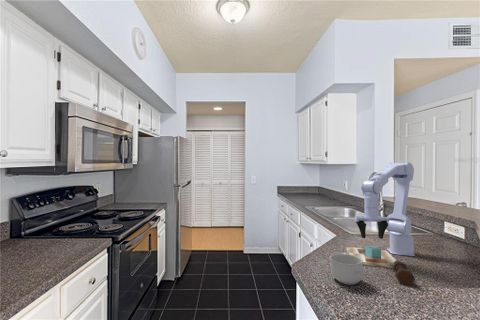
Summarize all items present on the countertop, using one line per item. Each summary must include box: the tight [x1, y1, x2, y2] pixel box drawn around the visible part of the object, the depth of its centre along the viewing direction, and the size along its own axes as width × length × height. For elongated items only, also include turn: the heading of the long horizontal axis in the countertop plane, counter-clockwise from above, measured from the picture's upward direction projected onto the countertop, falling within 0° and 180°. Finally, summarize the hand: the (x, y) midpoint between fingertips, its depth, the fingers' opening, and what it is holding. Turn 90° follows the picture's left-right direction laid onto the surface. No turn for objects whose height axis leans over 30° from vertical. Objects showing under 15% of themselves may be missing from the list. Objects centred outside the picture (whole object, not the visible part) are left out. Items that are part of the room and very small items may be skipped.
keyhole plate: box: [345, 246, 397, 269], centre depth 108 cm, size 18×20×2 cm
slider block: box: [364, 245, 382, 259], centre depth 104 cm, size 4×5×6 cm
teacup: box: [329, 252, 364, 286], centre depth 86 cm, size 14×11×8 cm
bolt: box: [392, 260, 416, 286], centre depth 89 cm, size 6×5×15 cm
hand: (372, 237), depth 107 cm, fingers open, 7 cm apart
